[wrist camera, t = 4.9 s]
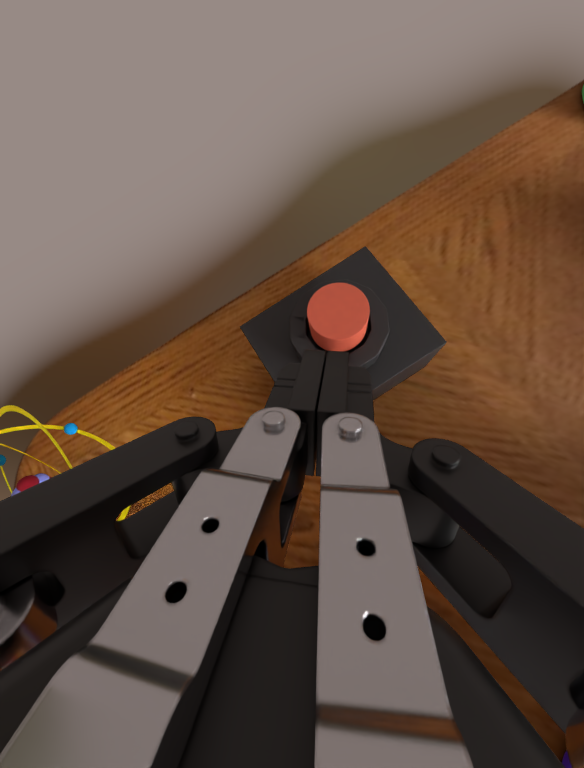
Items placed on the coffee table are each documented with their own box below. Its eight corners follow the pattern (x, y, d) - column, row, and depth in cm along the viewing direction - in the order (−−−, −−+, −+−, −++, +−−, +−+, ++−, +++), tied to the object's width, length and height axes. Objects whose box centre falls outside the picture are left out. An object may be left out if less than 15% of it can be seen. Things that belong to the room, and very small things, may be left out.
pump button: (345, 291, 24) (346, 271, 22) (377, 332, 23) (382, 316, 21) (299, 320, 24) (295, 304, 22) (330, 363, 23) (329, 351, 20)
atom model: (50, 406, 34) (-93, 347, 21) (189, 438, 33) (127, 397, 20) (-21, 549, 29) (-261, 585, 17) (137, 591, 29) (16, 663, 16)
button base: (360, 286, 32) (367, 230, 25) (425, 366, 30) (455, 332, 22) (257, 352, 32) (232, 316, 24) (313, 439, 29) (304, 430, 22)
